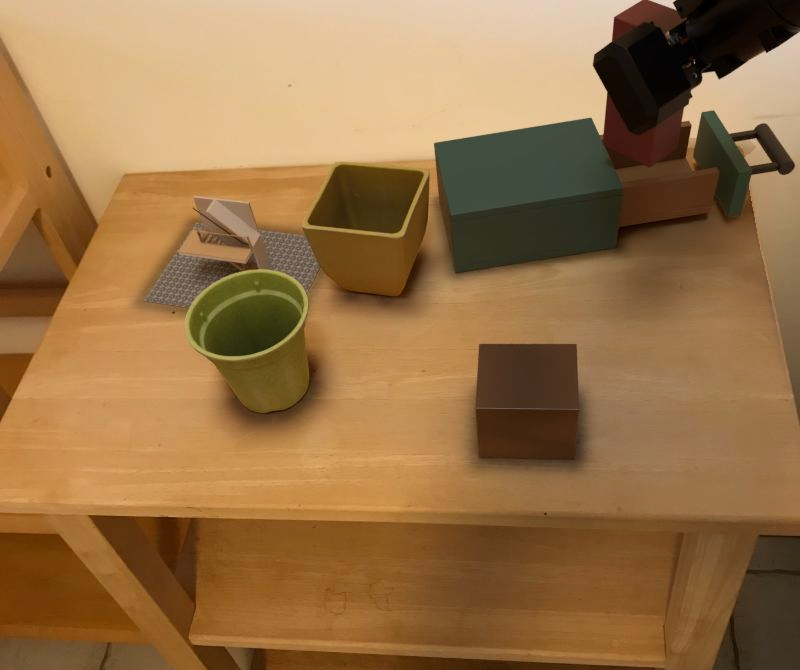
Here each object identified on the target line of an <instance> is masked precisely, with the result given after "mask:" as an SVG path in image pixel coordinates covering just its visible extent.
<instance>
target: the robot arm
mask: <svg viewBox="0 0 800 670" xmlns="http://www.w3.org/2000/svg"><path fill="white" fill-rule="evenodd" d="M672 4H673V7H674V8H675V10H677V12H678V14H679V16H680V18H681V19H684V18H687V19H686V20H685V21H683V22H682V23H680V24H679V25H677V26H675V27H674V28H672V29H671V30H669V31H668V32H666V34H665V35H664V33H663V31H662V30H661V28H660V27H658V26H655V24H654V23H653V21H651V22H649V23H647V22H645V21H644V22H643V23H641V24H640V25H638V26H636V27H635V28H633V29H631V30H630V31H628V32H627V33H625V34H623V35H622V36H620V37H618V38H617V39H615V40H614V41H612V40H611V41H610V42H609V43H607V44H606V45H605V46H603V47H602V48H601V49H599V50H598V51H597V52H595V53H594V54H593V61H592V67H593V69H594V70H595V72H596V74H597V76H598V78H599V80H600V82H601V84H602V85H603V87H604V89H605V91H606V93H607V92H608V94H609V96H610V98H611V100H612V102H613V103H614V105H615V107H616V109H617V111H618V112H619V114H620V116H621V118H622V120H623V121H624V123H625V125H626V127H627V129H628V131H629V132H630V133H633V134H635V135H638V136H639V135H641V134H643V133H645V132H647V131H649V130H650V129H652V128H654V127H656V126H658V125H659V124H660V123H662V122H663V121H665V120H666V119H668V118H669V117H671V116H672V115H674V114H675V113H677V112H678V111H679V110H681V109H682V108H684V109H685V107H686V106H688V105H689V104H690V100H691V99H693V94H692V90H694V89H696V88H698V87H699V86H700V85H701V84H702V82H703V74H708V73H713V72H714V73H715V75H716V77H717V79H718V80H721V79H723V78H725V77H727V76H729V75H730V74H732V73H734V72H735V71H736V70H738V69H739V68H741V67H742V66H744V65H745V64H747V63H748V62H749V61H750V60H753V59H755V58H756V57H758V56H759V55H762V54H763V53H765V54H767V53H770V52H771V51H773V50H775V49H777V48H778V47H780V46H781V45H783V44H785V43H786V42H788V40H791V39H792V38H793V37H795V36H796V35H798V34H799V33H800V0H674V1H673V2H672ZM665 36H666V37H665ZM686 37H688V39H689V40H688V41H686V42H685V43H683V44H682V45H681V43H680V41H681V40H683V39H684V38H686ZM691 56H693V59H692V60H691V62H690V60H689V58H690V57H691ZM690 64H691V66H689V65H690ZM687 66H689V67H687ZM685 68H686V69H685Z"/></svg>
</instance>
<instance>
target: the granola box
mask: <svg viewBox="0 0 800 670" xmlns="http://www.w3.org/2000/svg"><path fill="white" fill-rule="evenodd" d="M686 19H687V18H684V19H681V18H680V16H679V14H678V12H677V10H676V8H675V9H674V8H672V7H669V6H667V5H663V4H662V3H658V2H655V1H653V0H640V1H638V2H636V3H635V4H633V5H632V6H630V7H628V8H626V9H625V10H623V11H622V12H620V13H618V14H617V15H615V16H614V17H613V24H612V34H611V42H612V41H614V40H615V39H617V38H618V37H620V36H622V35H623V34H625V33H627V32H628V31H630V30H631V29H633V28H635V27H636V26H638V25H640V24H641V23H643V22H644V21H645V22H647V23H649V22H651V21H653V23H654V24H655V26H658V27H660V28H661V30H662V31H663V33H664V35H665V34H666V32H668V31H669V30H671V29H672V28H674V27H675V26H677V25H679V24H680V23H682V22H683V21H685V20H686ZM665 37H666V36H665ZM688 40H689V39H688V37H686V38H684V39H683V40H681V41H680V43H681V45H682V44H683V43H685V42H686V41H688ZM692 59H693V56H691V57H690V58H689V60H690V62H691V60H692ZM689 66H691V64H690V65H689ZM689 66H687V67H689ZM685 69H686V68H685ZM684 110H685V107H684V108H682V109H681V110H679V111H678V112H677V113H675V114H674V115H672V116H671V117H669V118H668V119H666V120H665V121H663V122H662V123H660V124H659V125H658V126H656V127H654V128H652V129H650V130H649V131H647V132H645V133H643V134H641V135H639V136H638V135H635V134H633V133H630V132H629V131H628V129H627V127H626V125H625V123H624V121H623V120H622V118H621V116H620V114H619V112H618V111H617V109H616V107H615V105H614V103H613V102H612V100H611V98H610V96H609V94H608V92H607V91H606V101H605V111H604V121H603V122H604V123H603V134H602V135H603V145H604V146H606V147H608V148H611V149H613V150H615V151H617V152H619V153H621V154H623V155H625V156H627V157H629V158H631V159H633V160H635V161H637V162H639V163H641V164H643V165H645V166H647V167H649V168H650V167H652V166H653V165H654V164H656V163H657V162H659V161H660V160H662V159H663V158H664V157H666V156H667V155H669V154H670V153H671V152H673V151H674V150H676V149H677V146H678V140H679V134H680V128H681V123H682V122H683V117H684Z"/></svg>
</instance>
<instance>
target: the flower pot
mask: <svg viewBox="0 0 800 670" xmlns="http://www.w3.org/2000/svg"><path fill="white" fill-rule="evenodd" d="M430 176H431V175H430V169H428V168H424V167H414V166H404V165H403V166H402V165H401V166H399V165H387V164H376V163H375V164H374V163H365V162H354V161H353V162H352V161H335V162H333V163H332V165H331V167H330V168H329V170H328V172H327V175H326V177H325V179H324V180H323V183H322V185H321V187H320V189H319V191H318V193H317V195H316V197H315V198H314V200H313V202H312V203H311V205H310V207H309V208H308V210H307V213H306V215H305V216H304V218H303V220H302V222H301V229H302V231H303V233H304V235H305V236H306V238H307V240H308V242H309V245H310V247H311V249H312V251H313V253H314V256H315V258H316V260H317V262H318V264H319V266H320V269H321V270H322V272H323V273H324V274H325V275H326V277H328V278H329V279H330V280H331V281H332V282H334V283H335V284H336V285H338V286H340V287H341V288H343V289H345V290H347V291H350V292H356V293H366V294H374V295H381V296H387V297H399V296H400V295H401V294H402V292H403V291H404V289H405V287H406V284H407V282H408V279H409V277H410V273H411V271H412V269H413V266H414V263H415V261H416V258H417V255H418V253H419V251H420V249H421V246H422V245H423V244H422V243H423V241H424V239H425V234H426V232H427V231H426V230H427V226H428V221H429V208H430V207H429V204H430V178H431V177H430Z"/></svg>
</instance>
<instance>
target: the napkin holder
mask: <svg viewBox="0 0 800 670" xmlns="http://www.w3.org/2000/svg"><path fill="white" fill-rule="evenodd" d="M192 198H193V201H194V204H195V206H196V208H195V207H192V210H194V211H195V212H197V213H198V214H199V216H200V220H201V222H199V221H198V222H195V224H194V225H193V226H192V228H191V230H190V231H189V232H188V234H187V235H186V237H185V238H184V240H183V241H182V243H181V244H180V245H179V247H178V248H177V250H176V252H175V253H174V254H173V256H172V258H171V259H170V261H169V262H168V264H167V265H166V267H165V268H164V270H163V271H162V273H161V274H160V276H159V277H158V278H157V280H156V282H155V283H154V285H152V287H151V289H150V290H149V292H148V293H147V295H146V296H145V298H144V299H143V302H149V303H155V304H162V305H169V306H175V307H182V308H188V309H189V308H190V306H191V304H192V303H193V301H194V300H195V299H196V298H197V296H198V295H199V294H200V293H202V292H203V291H204V290H205V289H206V288H208V287H209V286H210V285H211V284H213V283H215V282H216V281H218V280H220V279H222V278H224V277H227V276H229V275H232V274H234V273H238V272H242V271H247V270H257V269H268V270H273V271H279V272H282V273H285V274H287V275H289V276H291V277H293V278H294V279H296V280H297V281H298V282H299V283H300V284H301V285H302V287H303V288H304V290H305V292H306V294H308V291H309V289H310V287H311V286H312V284H313V282H314V280H315V279H316V276H317V274H318V272H319V270H320V269H321V267H320V266H319V264H318V262H317V260H316V258H315V256H314V253H313V251H312V249H311V247H310V245H309V242H308V240H307V238H306V236H305V234H295V233H288V232H281V231H273V230H264V229H259V227H258V223H257V221H256V218H255V215H254V210H253V209H252V205H251V202H250V201H246V200H245V201H244V200H236V199H227V198H217V197H210V196H209V197H208V196H206V197H205V196H200V195H199V196H198V195H193V197H192Z"/></svg>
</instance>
